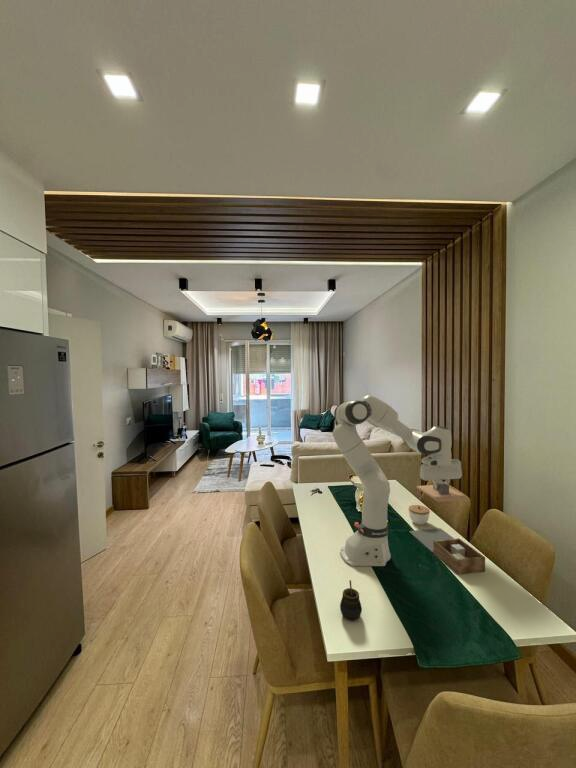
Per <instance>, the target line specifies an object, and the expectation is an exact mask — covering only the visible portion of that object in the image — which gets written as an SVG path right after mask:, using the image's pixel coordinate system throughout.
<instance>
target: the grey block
mask: <svg viewBox="0 0 576 768" xmlns="http://www.w3.org/2000/svg"><path fill="white" fill-rule="evenodd" d="M458 553H460V554H461V555H462V556H463V557H465V548H463V547H462V546H461V545H459V544H454V545H451V554H458Z"/></svg>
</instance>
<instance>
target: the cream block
mask: <svg viewBox="0 0 576 768" xmlns="http://www.w3.org/2000/svg"><path fill="white" fill-rule="evenodd" d="M452 555H453V556H454V557H456V558H457V559H464V558H465V557H463V556H462V555H461V554H460V553H458V554H452Z"/></svg>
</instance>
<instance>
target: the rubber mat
mask: <svg viewBox="0 0 576 768" xmlns="http://www.w3.org/2000/svg"><path fill="white" fill-rule="evenodd" d="M409 534H411V535H412V536H413V537H414V538H416V539H417V541H418V542H420V543H421V544H422V545H423V546H424V547H425V548H427V550H429V551H430V552H431V553H433V550H434V541H437V540H447V539H455V537H453V536H452V535H450V534H449V533H448V532H446V531H445V530H444V529H442V528H440V527H439V528H430V529H429V528H428V529H417V530H410V531H409Z"/></svg>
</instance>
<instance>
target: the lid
mask: <svg viewBox="0 0 576 768" xmlns="http://www.w3.org/2000/svg"><path fill="white" fill-rule="evenodd" d="M432 483H433V482H432ZM436 483H437V484H438V485H439V489H435V488H434V483H433V484H429V485H416V489H417V490H419V491H421V493H423V494H425V495H427V496H428V497H430V498H431V499H432V500H435V501H436V502H437V503H439V502H454V501H466V500H469V497H468V496H466V495H465V494H462V493H460V492H459V491H457V490H455V489H453V488H452V487H450V485H449V484H448V485H447V484H445V482H443V481H441V480H437V482H436Z"/></svg>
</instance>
